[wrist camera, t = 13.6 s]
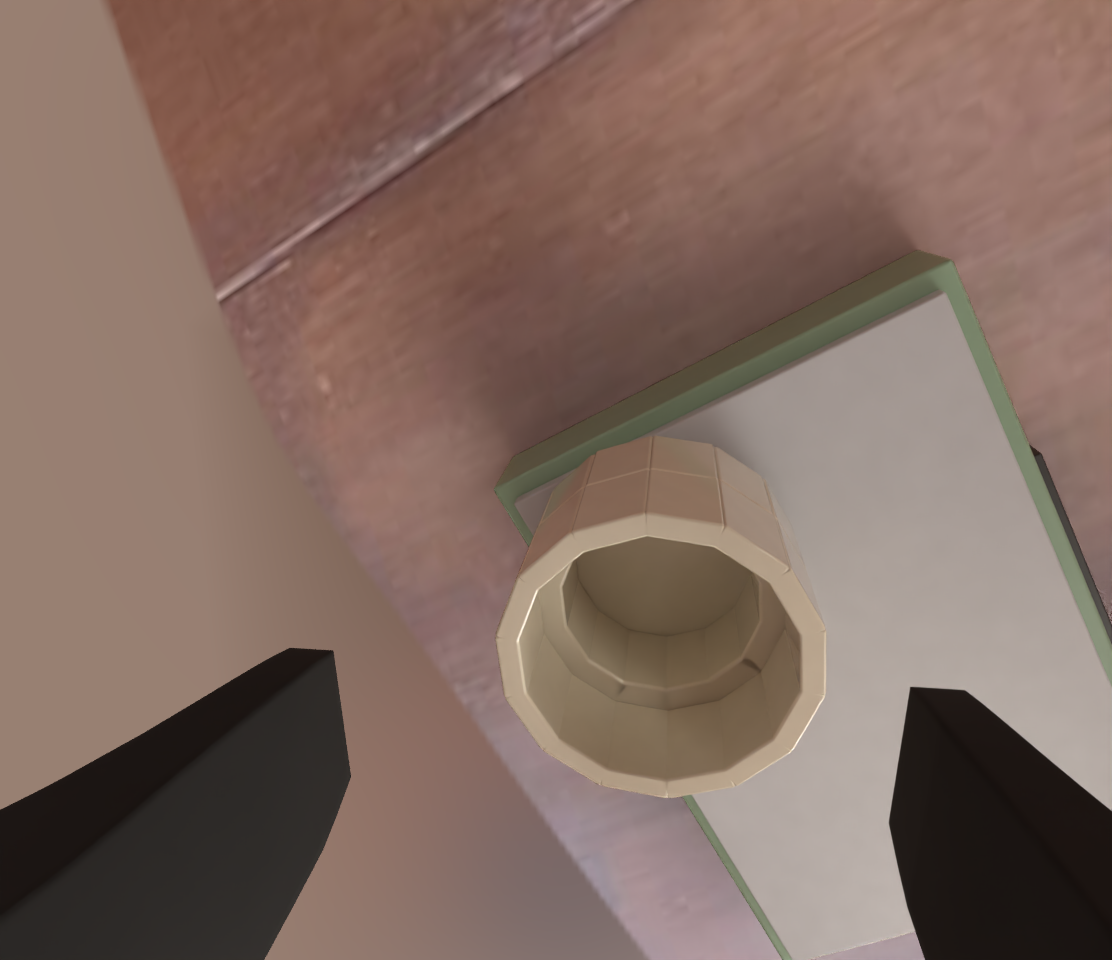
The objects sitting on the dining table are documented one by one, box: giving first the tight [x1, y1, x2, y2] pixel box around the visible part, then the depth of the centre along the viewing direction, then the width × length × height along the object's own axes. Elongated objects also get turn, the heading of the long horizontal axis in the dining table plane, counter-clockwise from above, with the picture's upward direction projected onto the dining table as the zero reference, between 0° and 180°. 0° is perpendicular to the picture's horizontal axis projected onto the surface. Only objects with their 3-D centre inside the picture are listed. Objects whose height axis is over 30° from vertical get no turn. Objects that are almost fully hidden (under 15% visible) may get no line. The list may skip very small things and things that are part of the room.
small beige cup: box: [495, 436, 827, 798], centre depth 15 cm, size 5×5×4 cm
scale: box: [494, 250, 1112, 960], centre depth 18 cm, size 15×10×3 cm
